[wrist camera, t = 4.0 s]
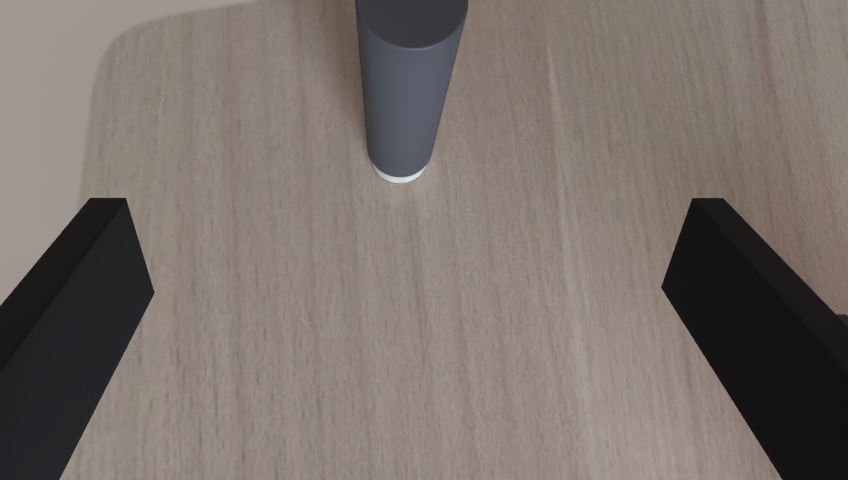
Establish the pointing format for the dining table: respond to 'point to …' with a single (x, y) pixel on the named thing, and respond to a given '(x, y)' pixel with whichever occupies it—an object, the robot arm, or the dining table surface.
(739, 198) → the dining table surface
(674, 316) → the dining table surface
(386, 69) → the grey cylinder
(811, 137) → the dining table surface
